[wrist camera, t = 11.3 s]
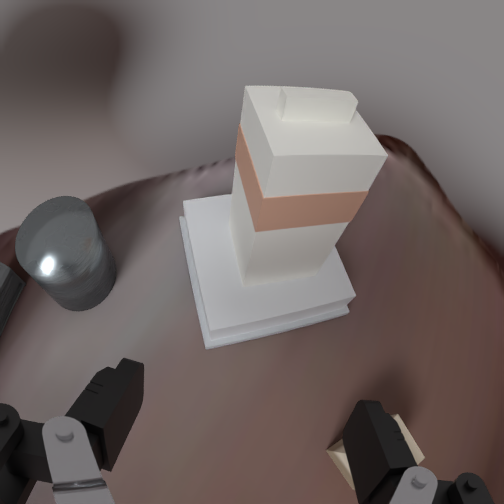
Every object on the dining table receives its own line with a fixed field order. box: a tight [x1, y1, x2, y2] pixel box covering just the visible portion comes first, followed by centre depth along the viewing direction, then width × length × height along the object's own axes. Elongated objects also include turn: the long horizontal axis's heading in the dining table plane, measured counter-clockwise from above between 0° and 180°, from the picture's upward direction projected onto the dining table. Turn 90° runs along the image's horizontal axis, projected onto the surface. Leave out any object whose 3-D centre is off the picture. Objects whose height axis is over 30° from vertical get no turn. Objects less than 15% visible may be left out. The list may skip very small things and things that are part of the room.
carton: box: [229, 86, 388, 287], centre depth 17 cm, size 5×5×12 cm
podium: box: [179, 194, 356, 349], centre depth 23 cm, size 11×11×3 cm
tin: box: [15, 196, 116, 311], centre depth 20 cm, size 6×6×6 cm
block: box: [326, 414, 425, 490], centre depth 16 cm, size 4×4×4 cm
